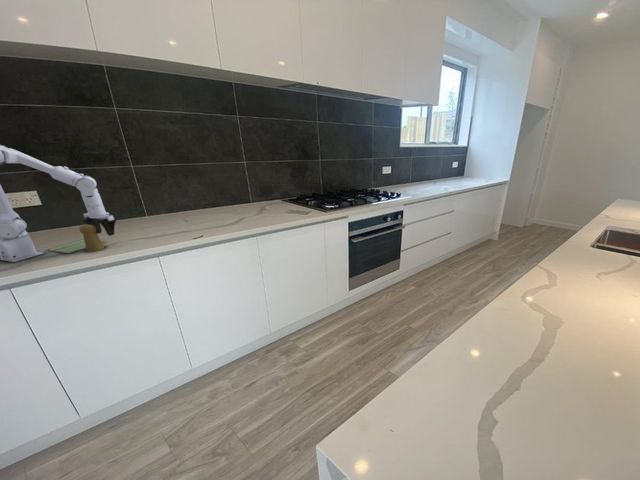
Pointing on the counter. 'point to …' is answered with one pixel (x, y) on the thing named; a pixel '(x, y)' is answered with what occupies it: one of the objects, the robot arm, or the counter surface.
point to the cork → (91, 238)
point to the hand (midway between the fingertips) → (105, 234)
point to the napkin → (70, 247)
